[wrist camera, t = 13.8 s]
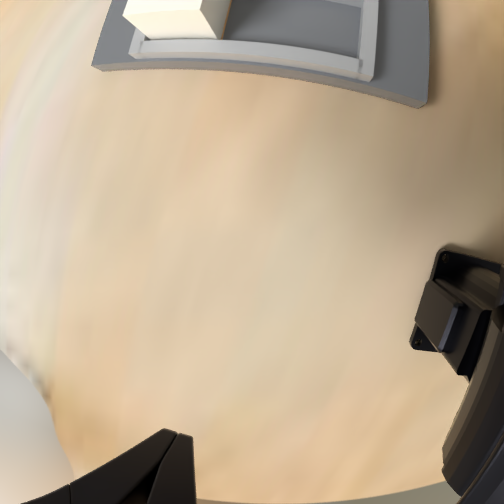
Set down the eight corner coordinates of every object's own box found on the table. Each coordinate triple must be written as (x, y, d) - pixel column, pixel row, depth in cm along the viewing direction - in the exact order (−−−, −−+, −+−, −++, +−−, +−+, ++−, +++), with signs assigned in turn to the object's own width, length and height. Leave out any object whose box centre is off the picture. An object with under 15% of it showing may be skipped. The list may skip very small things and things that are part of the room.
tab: (232, -6, 14) (216, -45, 10) (220, 43, 15) (199, 9, 11) (168, -4, 14) (142, -37, 10) (154, 43, 15) (122, 15, 11)
